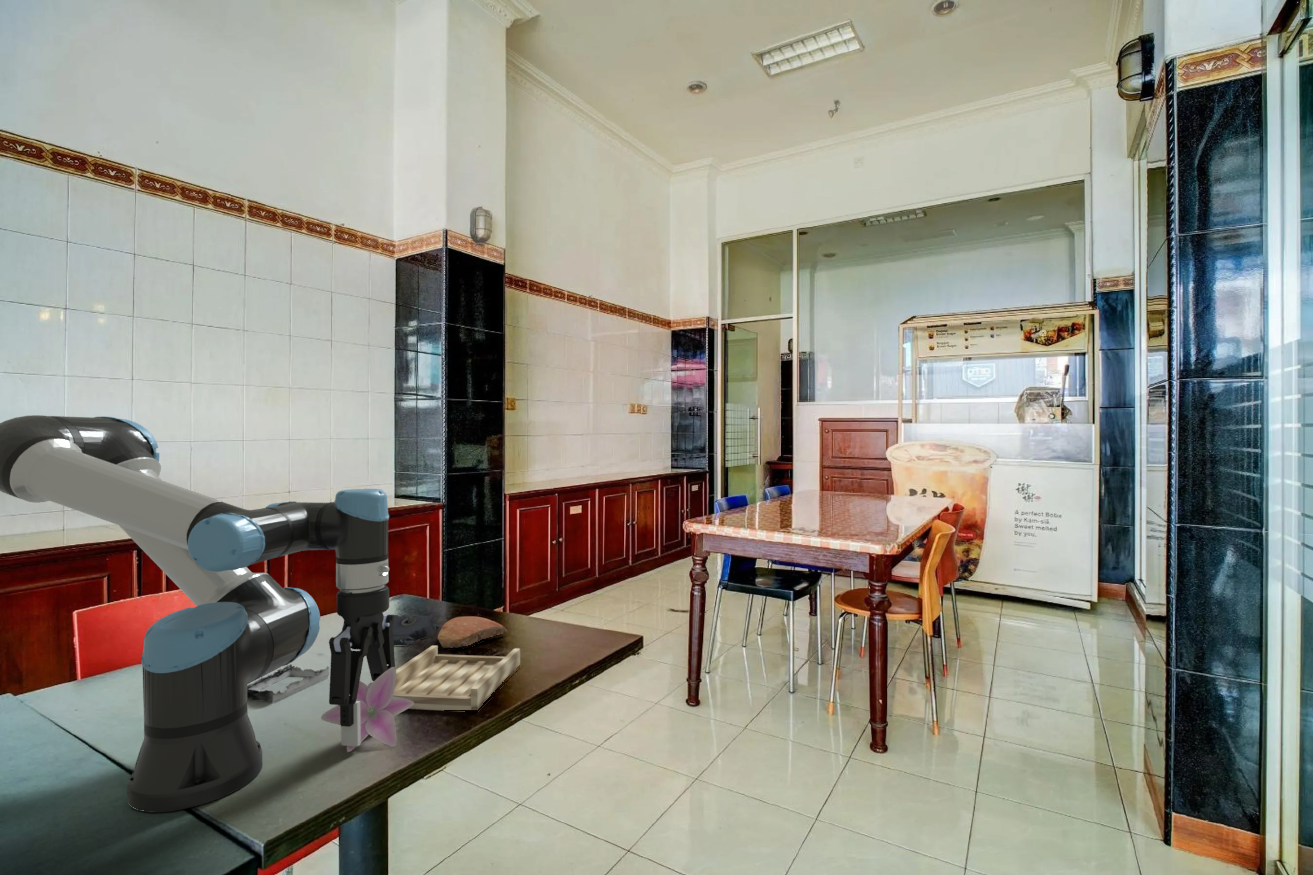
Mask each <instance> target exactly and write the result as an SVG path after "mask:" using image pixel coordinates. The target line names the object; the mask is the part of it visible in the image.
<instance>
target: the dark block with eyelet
mask: <svg viewBox="0 0 1313 875" xmlns="http://www.w3.org/2000/svg"><path fill="white" fill-rule="evenodd" d="M393 615H394V623H393V640H394V645H408V644H410V643H413V642H414V641H416V640H418V639H421V638H424V637H426V636H428V635H429V634H430V633H432V632H433V631H434V630H435V629H436V627H435V626H436V625H438V624H437V623H435V618H434V617H435V616H433V615H429V616H427V615H418V616H415V617H413V618H412V620H411V617H410V615H398V614H393ZM384 629H385V628H384ZM341 634H342V630H341V631H340V632H339V633H338V634H337V635H336V636H335V637H338V636H339V635H341Z"/></svg>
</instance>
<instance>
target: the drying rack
mask: <svg viewBox="0 0 1313 875" xmlns="http://www.w3.org/2000/svg"><path fill="white" fill-rule="evenodd" d="M438 648H439V646H438V645H430V646H429V647H428V648H426V649H425V650H424V651H422V652H420V653H419V654H418V655H416V656H414V657H413V658H411V659H410V660H409V661H407V662H405V663H404V664H402V665H401V666H399V667H398V668H396V681H395V689H394V694H393V697H400V698H405V699H408V700H411V701H413V702H414V704H413V705H412V706H411V707H409V708H408V709H410V710H426V711H427V710H428V711H444V710H478V709H479V708H480V707H481V706H482V705H483V703H484V702H485V701H486V700H487V699H488V698H489V697H490V696H491V694H492V693H493V692H495V690H496V689H497V688H498V687H499V686H500V685H501V684H502V682H504V680H505V679H506V678H507V677H508V676H509V675H511V674H512V673H513V671H515V670H516V668H517V667H518V666H519V665H520V666H521V648H518V647H517V648H513V649H512V650H511V651H510V652H509V653H507V655H505V656H494V655H493V656H492V655H470V654H469V655H467V654H445V653H444V654H442V653H441V654H440V653H439V651H438V650H439V649H438ZM438 653H439V654H438ZM408 709H407V710H408Z"/></svg>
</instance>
